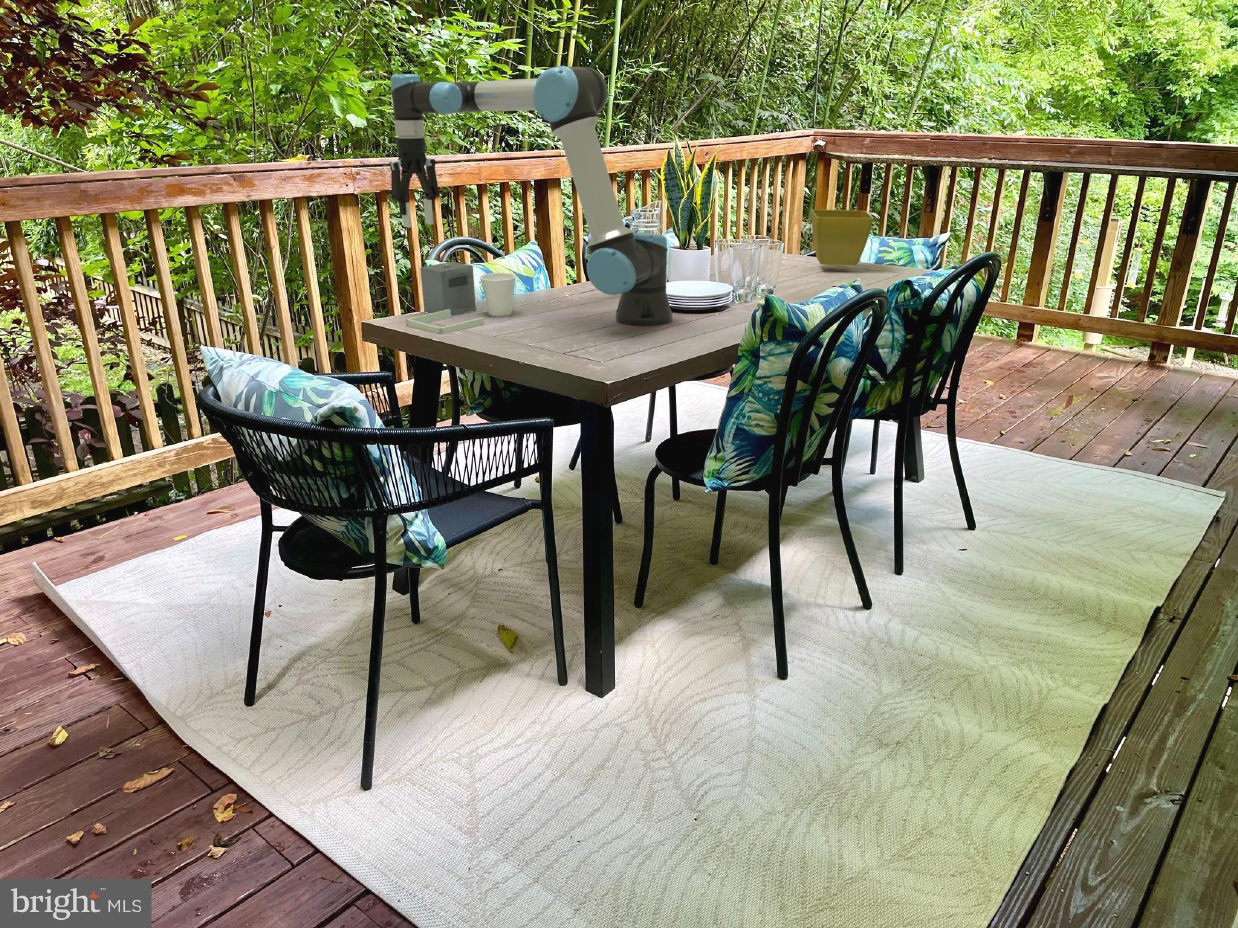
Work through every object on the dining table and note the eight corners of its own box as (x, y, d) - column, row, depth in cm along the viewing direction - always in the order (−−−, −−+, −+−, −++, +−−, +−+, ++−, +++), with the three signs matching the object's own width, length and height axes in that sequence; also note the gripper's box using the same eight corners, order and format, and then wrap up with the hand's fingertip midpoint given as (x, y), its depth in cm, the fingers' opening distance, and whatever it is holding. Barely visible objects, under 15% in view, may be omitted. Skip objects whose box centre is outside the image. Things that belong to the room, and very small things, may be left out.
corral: (484, 329, 234) (483, 317, 233) (441, 340, 224) (440, 328, 223) (449, 320, 242) (449, 309, 241) (407, 330, 233) (405, 319, 231)
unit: (476, 312, 250) (473, 263, 245) (445, 319, 243) (441, 269, 237) (454, 307, 256) (451, 259, 251) (423, 314, 249) (419, 265, 243)
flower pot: (860, 257, 323) (865, 209, 316) (868, 268, 305) (874, 217, 299) (807, 256, 325) (811, 209, 318) (812, 267, 307) (816, 217, 300)
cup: (515, 320, 242) (513, 280, 237) (479, 320, 242) (476, 280, 237) (520, 311, 251) (518, 272, 246) (485, 311, 251) (482, 272, 247)
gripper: (431, 134, 247) (438, 220, 256) (370, 138, 233) (380, 228, 242) (448, 135, 242) (455, 222, 251) (387, 139, 229) (397, 231, 238)
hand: (418, 225), depth 247 cm, fingers open, 7 cm apart
